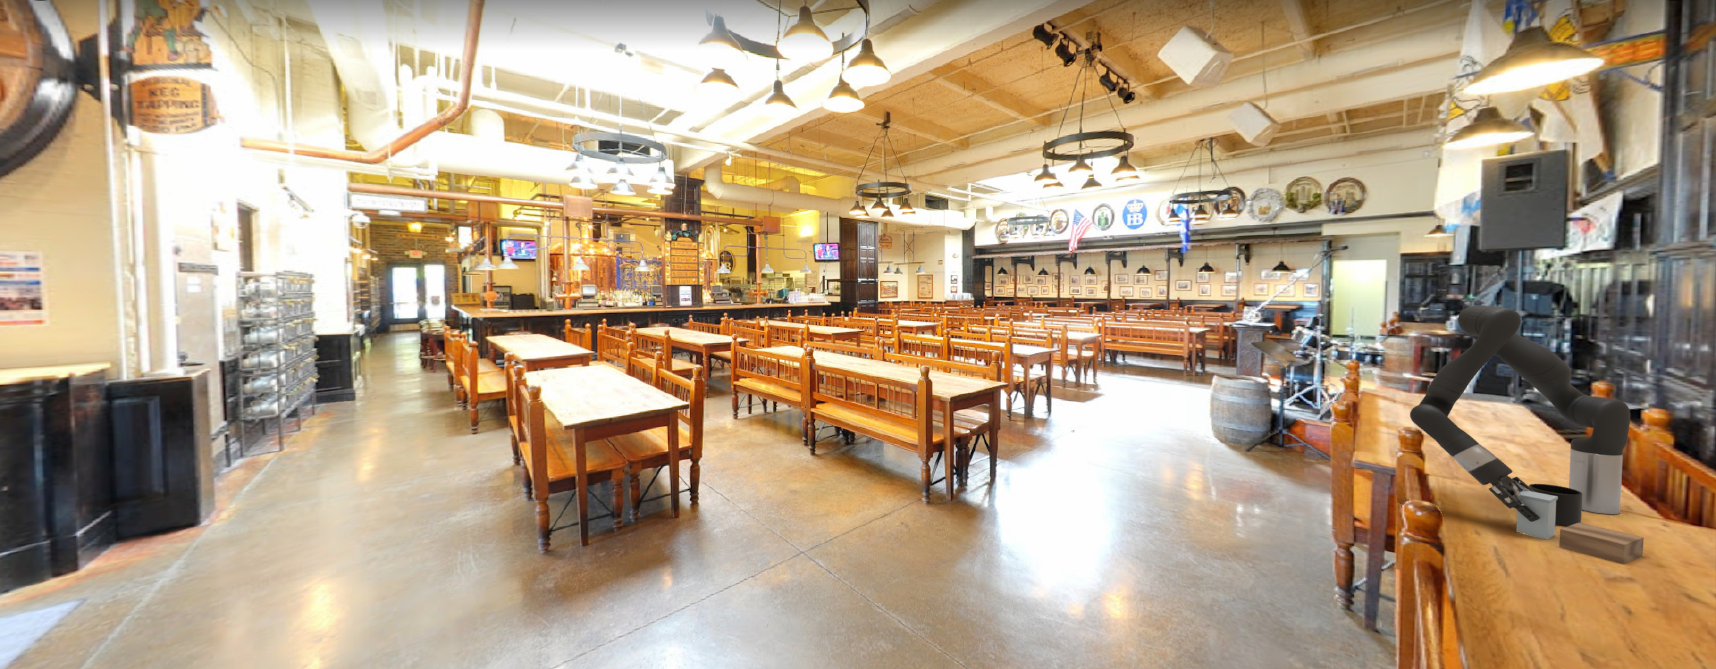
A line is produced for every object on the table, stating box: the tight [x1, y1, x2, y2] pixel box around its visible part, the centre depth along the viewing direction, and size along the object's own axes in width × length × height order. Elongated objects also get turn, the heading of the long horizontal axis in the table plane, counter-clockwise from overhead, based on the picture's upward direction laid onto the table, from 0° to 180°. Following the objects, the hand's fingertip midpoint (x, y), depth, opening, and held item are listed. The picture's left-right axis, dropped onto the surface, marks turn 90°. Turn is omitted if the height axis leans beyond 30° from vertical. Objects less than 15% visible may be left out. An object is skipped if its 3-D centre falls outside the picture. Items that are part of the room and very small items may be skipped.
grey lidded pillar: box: [1516, 491, 1558, 540], centre depth 149 cm, size 6×6×11 cm
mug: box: [1528, 483, 1583, 527], centre depth 158 cm, size 9×12×9 cm
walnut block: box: [1558, 522, 1644, 565], centre depth 138 cm, size 10×10×5 cm
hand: (1542, 517), depth 148 cm, fingers open, 8 cm apart
